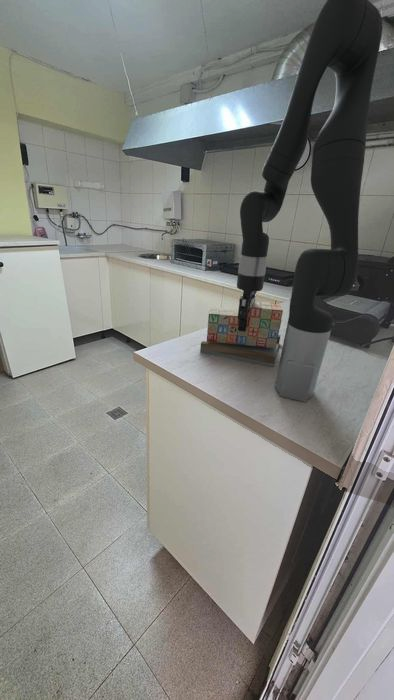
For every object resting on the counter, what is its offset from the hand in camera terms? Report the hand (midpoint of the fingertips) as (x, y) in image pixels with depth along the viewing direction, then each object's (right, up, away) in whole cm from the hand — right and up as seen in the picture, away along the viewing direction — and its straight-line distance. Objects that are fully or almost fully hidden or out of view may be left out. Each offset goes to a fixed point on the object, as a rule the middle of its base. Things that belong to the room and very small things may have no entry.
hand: (244, 326), depth 88 cm
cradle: (0, -6, +3) cm, 7 cm away
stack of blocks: (-1, -5, +2) cm, 5 cm away
